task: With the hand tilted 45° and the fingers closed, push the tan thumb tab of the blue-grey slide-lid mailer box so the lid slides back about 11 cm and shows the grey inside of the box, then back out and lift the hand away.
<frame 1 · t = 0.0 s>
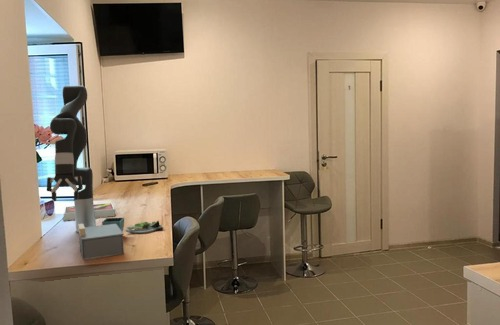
hand: (65, 200, 180), 22 cm above the worktop, tool pointing down, fingers open, 8 cm apart
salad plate: (145, 230, 217), on the worktop
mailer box: (100, 250, 180), on the worktop
product packaging: (89, 216, 255), on the worktop
lid: (99, 228, 179), point 10 cm above the worktop, slide at 0.0 cm
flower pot: (114, 237, 202), on the worktop
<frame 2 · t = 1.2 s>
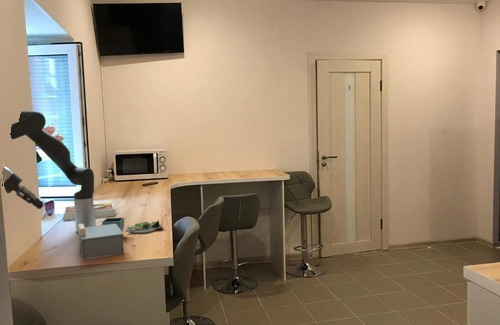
hand: (41, 206, 169), 22 cm above the worktop, tool tilted 45°, fingers open, 5 cm apart
nothing on the worktop moved.
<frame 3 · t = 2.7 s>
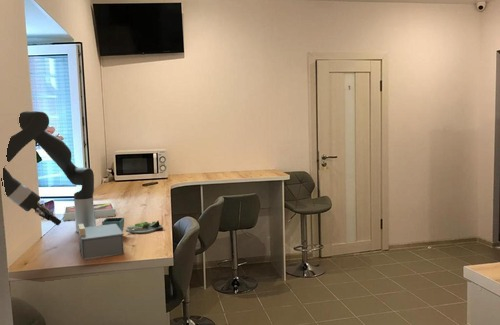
hand: (59, 223, 172), 14 cm above the worktop, tool tilted 45°, fingers closed
nothing on the worktop moved.
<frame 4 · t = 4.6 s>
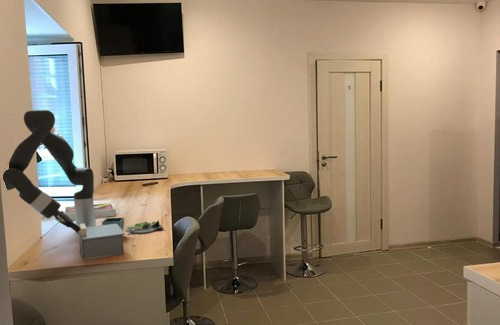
hand: (78, 230, 176), 10 cm above the worktop, tool tilted 45°, fingers closed
lid: (100, 228, 180), point 10 cm above the worktop, slide at 0.5 cm, touching gripper
everything else where it was.
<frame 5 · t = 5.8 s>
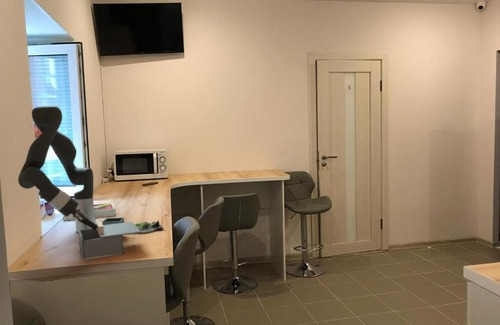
hand: (96, 228, 179), 10 cm above the worktop, tool tilted 45°, fingers closed
lid: (117, 226, 183), point 10 cm above the worktop, slide at 7.4 cm, touching gripper
everything else where it was.
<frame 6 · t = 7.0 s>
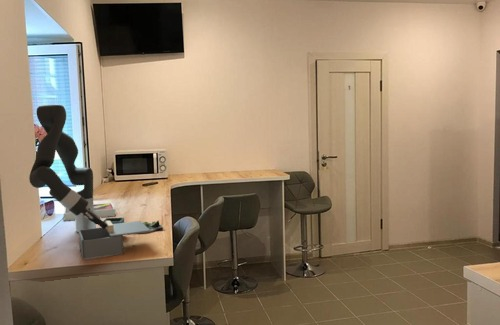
hand: (105, 227, 181), 10 cm above the worktop, tool tilted 45°, fingers closed
lid: (126, 224, 184), point 10 cm above the worktop, slide at 11.3 cm, touching gripper
everything else where it was.
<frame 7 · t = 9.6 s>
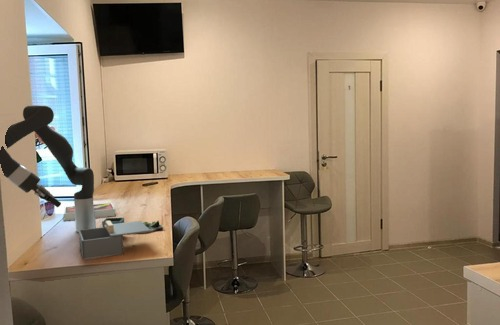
hand: (59, 205, 171), 22 cm above the worktop, tool tilted 45°, fingers closed
lid: (126, 224, 185), point 10 cm above the worktop, slide at 11.4 cm
everything else where it was.
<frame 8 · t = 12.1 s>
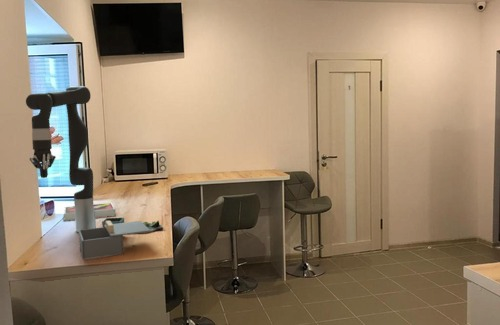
hand: (44, 177, 184), 32 cm above the worktop, tool pointing down, fingers closed
nothing on the worktop moved.
at the end: lid slide at 11.4 cm; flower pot moved 0.2 cm from its start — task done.
